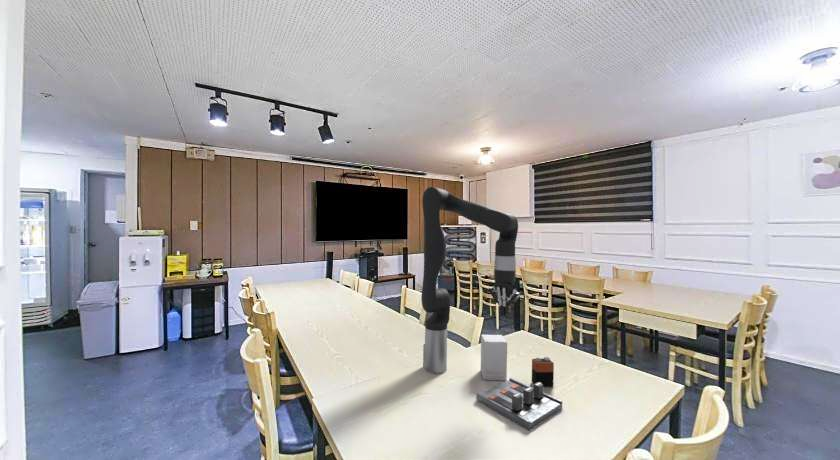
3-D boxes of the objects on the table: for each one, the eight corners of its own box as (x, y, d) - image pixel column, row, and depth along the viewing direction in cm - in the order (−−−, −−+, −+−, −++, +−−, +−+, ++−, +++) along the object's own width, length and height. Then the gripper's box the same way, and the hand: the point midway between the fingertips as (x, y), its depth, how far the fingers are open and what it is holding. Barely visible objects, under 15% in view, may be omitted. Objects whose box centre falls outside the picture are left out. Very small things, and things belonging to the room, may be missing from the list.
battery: (553, 387, 118) (554, 360, 118) (536, 387, 117) (536, 360, 117) (548, 381, 122) (548, 355, 122) (531, 382, 122) (531, 356, 122)
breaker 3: (533, 396, 106) (533, 383, 106) (537, 393, 108) (537, 381, 108) (538, 398, 105) (539, 386, 105) (543, 396, 106) (543, 383, 106)
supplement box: (507, 381, 122) (507, 342, 122) (483, 380, 122) (484, 341, 122) (502, 370, 131) (502, 334, 131) (480, 370, 131) (480, 333, 131)
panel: (476, 400, 107) (476, 393, 107) (510, 384, 119) (510, 377, 119) (528, 431, 91) (528, 422, 92) (562, 409, 103) (562, 401, 103)
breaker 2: (523, 401, 102) (523, 389, 102) (527, 399, 104) (527, 386, 104) (528, 404, 101) (528, 391, 101) (533, 402, 102) (533, 389, 102)
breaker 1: (511, 408, 99) (511, 394, 99) (516, 405, 100) (516, 392, 100) (517, 411, 97) (517, 397, 97) (522, 408, 99) (522, 394, 99)
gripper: (483, 267, 117) (483, 313, 117) (514, 271, 107) (513, 322, 107) (496, 265, 122) (495, 310, 122) (526, 269, 112) (526, 318, 112)
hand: (504, 316), depth 114 cm, fingers closed
